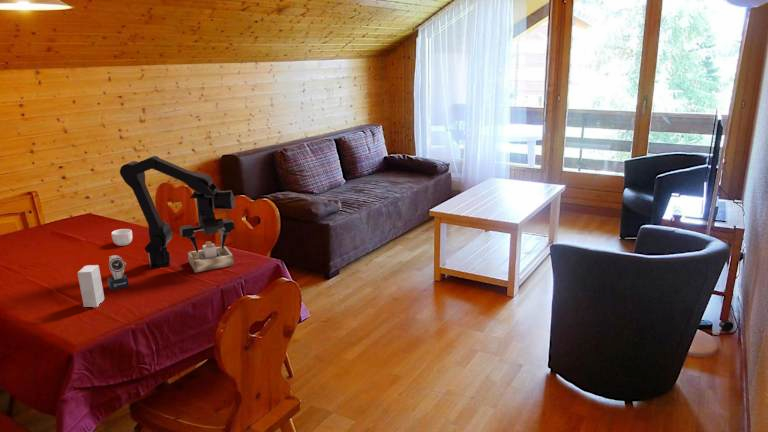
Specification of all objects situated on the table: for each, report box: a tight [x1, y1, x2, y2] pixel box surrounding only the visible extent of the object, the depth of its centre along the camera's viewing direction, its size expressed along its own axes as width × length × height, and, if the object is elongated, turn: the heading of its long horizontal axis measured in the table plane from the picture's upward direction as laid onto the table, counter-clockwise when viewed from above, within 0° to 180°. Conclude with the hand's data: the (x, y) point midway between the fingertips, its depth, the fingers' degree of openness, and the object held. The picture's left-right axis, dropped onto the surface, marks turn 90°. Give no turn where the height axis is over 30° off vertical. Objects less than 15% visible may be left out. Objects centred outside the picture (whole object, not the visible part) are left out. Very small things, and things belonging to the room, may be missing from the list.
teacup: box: [111, 228, 133, 247], centre depth 234 cm, size 10×8×5 cm
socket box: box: [187, 245, 235, 273], centre depth 210 cm, size 14×12×4 cm
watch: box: [106, 254, 130, 291], centre depth 189 cm, size 6×8×11 cm
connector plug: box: [202, 240, 217, 259], centre depth 209 cm, size 4×4×8 cm
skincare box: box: [77, 264, 105, 308], centre depth 176 cm, size 6×4×12 cm
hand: (209, 249), depth 209 cm, fingers open, 9 cm apart
